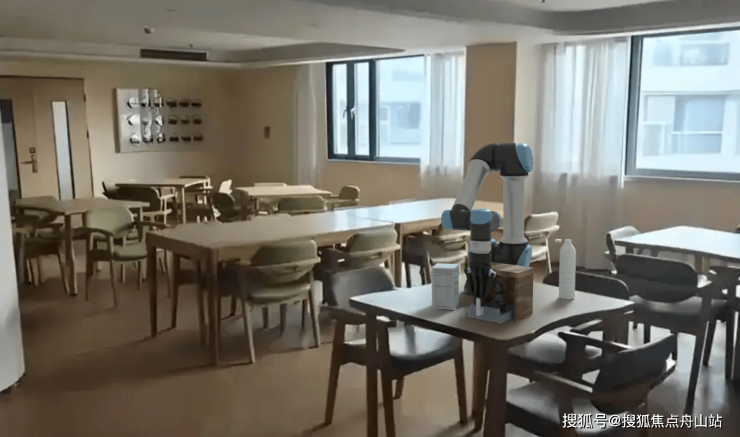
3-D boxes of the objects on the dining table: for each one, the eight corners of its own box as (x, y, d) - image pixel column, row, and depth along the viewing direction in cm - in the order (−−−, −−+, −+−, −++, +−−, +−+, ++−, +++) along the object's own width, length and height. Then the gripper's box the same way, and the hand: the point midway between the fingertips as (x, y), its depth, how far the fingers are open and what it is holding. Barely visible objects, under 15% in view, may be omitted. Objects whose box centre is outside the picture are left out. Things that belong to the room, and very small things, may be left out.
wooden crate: (471, 311, 256) (471, 266, 254) (487, 305, 265) (487, 261, 263) (517, 320, 243) (518, 272, 241) (532, 313, 252) (533, 267, 250)
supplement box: (459, 304, 267) (459, 263, 265) (454, 310, 258) (455, 268, 256) (436, 302, 270) (436, 262, 268) (431, 308, 261) (431, 267, 259)
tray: (467, 316, 249) (468, 303, 248) (491, 307, 262) (491, 295, 261) (500, 323, 240) (500, 310, 239) (523, 313, 253) (523, 300, 252)
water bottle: (571, 295, 279) (572, 237, 276) (577, 299, 272) (579, 240, 269) (551, 296, 278) (552, 238, 275) (556, 300, 272) (558, 240, 268)
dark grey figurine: (504, 308, 256) (504, 278, 254) (508, 313, 250) (509, 282, 248) (489, 309, 255) (489, 279, 254) (493, 313, 249) (494, 282, 248)
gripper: (459, 251, 240) (459, 314, 243) (491, 255, 232) (490, 320, 235) (470, 248, 246) (470, 309, 249) (501, 252, 237) (500, 315, 240)
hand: (479, 314), depth 242 cm, fingers closed
